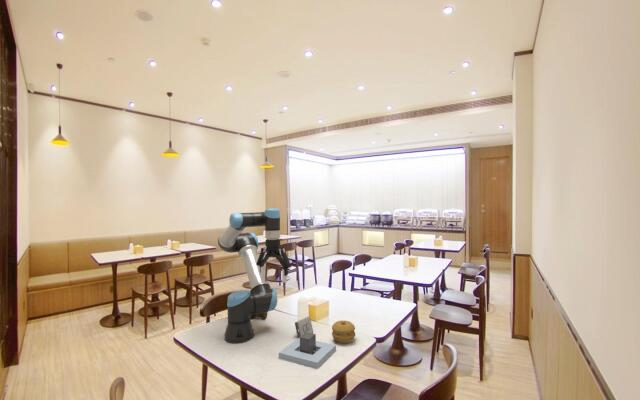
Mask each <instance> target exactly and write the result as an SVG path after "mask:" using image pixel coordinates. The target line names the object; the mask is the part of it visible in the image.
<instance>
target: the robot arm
mask: <svg viewBox="0 0 640 400" xmlns="http://www.w3.org/2000/svg"><path fill="white" fill-rule="evenodd" d="M280 211H281V209H280V208H265V210H264V211H261V212H235V213H230V215H229V221H228V222H229V225H228V227H227V228H226V230H225V231H224V232H222V233H221V234H220V235H219V236H218V238H217V243H218V247H219V248H220V249H221V250H222V251H224V252H226V253H231V254H232V253H238V256H239V257H240V258H242V260H243V264H244V269H245V271H246V274H247V275H246V276H247V278H248V281H249V286H250V290H249V289H239V290H236V291H234V292H231V293H230V294H229V295H228V296H227V304H226V306H227V326H226V327H225V332H224V341H225V342H227V343H229V344H241V343H247V342H248V341H250V340H252V339H253V338H254V337H255V330H254V328H253V324H252V322H251V320H252V319H251V318H250V316H251V315H253V314H258V313H263V312H267V313H268V312H270V311H273V310H275V309H276V308H277V305H278V293H277V290H276V288H273V287H272V288H271V285H270V283H267V282H266V266H265V264H266V263H267V261H268V260H269V259H270V258H275V259H277V261H278V263H279V264H280V265H281V267H282V269H281V271H282V273H281V274H282V277H281V278H282V279H281V281H282V283H287V281H288V274H289V272H288V271H289V269H290V268H292V263H291V262H290V259H289V257H288V254H287V251H286V248H281V239H280V238H281V214H280ZM255 227H256V228H257V227H259V228H260V227H265V228H264V229H265V230H264V231H265V233H264V235H265V236H264V237H265V240H264V241H265V247H261V248H260V253H259V256H258V255H257V252H258V249H259V246H260V245H259V238H258V237H257V235H256V234H255V233H254V232H243V231H244V230H245V229H246V228H255Z"/></svg>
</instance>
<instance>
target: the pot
mask: <svg viewBox="0 0 640 400" xmlns="http://www.w3.org/2000/svg"><path fill="white" fill-rule="evenodd" d="M331 330H332V332H331V335H332V337H333V339H334V340H335V342H336V343H339V344H348V343H350V342H352V341H353V340H354V338H355V336H356V331H355V330H356V326H355V325H354V323H353V322H351V321H349V320H338V321H335V322H334V323H333V324H332V326H331Z"/></svg>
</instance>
